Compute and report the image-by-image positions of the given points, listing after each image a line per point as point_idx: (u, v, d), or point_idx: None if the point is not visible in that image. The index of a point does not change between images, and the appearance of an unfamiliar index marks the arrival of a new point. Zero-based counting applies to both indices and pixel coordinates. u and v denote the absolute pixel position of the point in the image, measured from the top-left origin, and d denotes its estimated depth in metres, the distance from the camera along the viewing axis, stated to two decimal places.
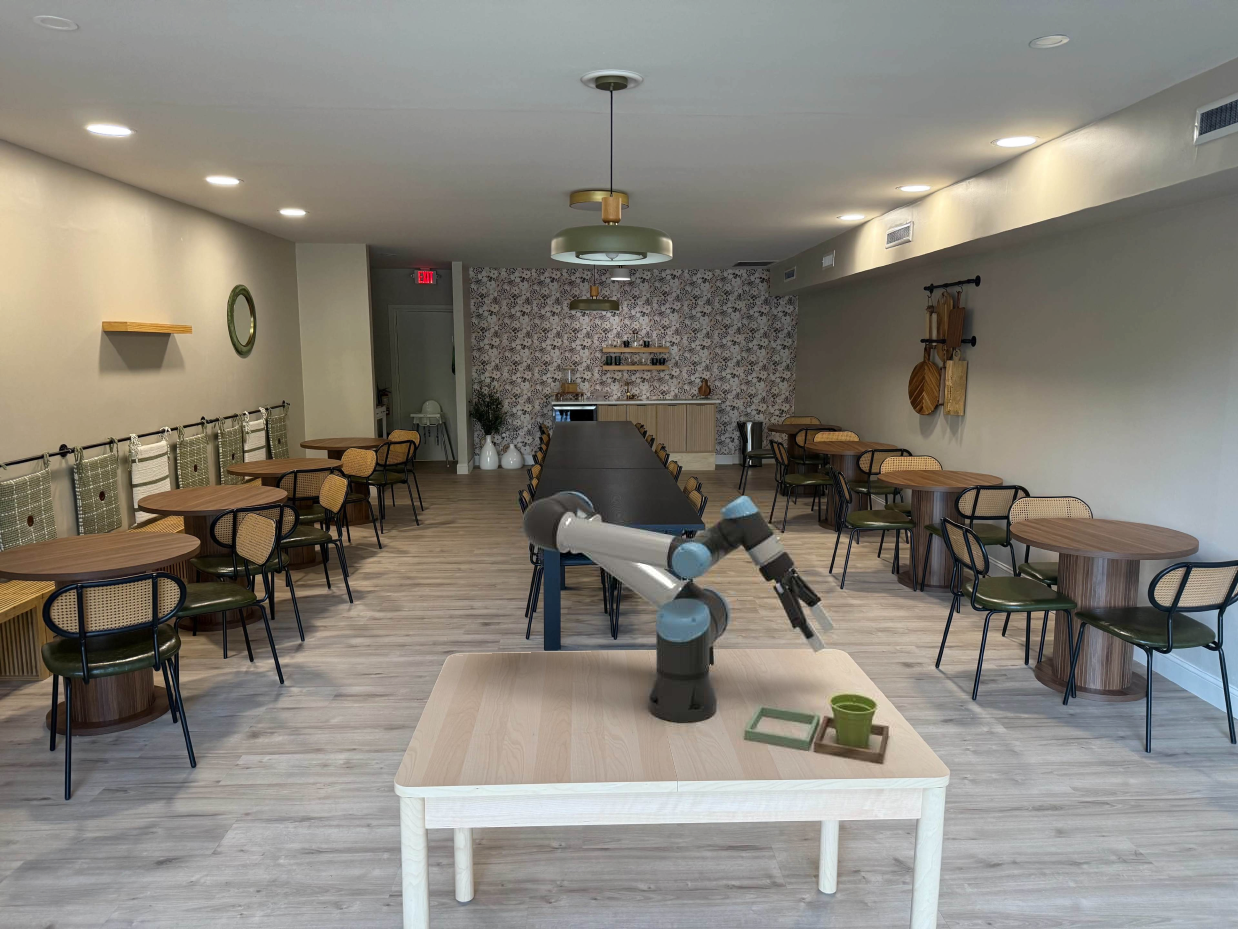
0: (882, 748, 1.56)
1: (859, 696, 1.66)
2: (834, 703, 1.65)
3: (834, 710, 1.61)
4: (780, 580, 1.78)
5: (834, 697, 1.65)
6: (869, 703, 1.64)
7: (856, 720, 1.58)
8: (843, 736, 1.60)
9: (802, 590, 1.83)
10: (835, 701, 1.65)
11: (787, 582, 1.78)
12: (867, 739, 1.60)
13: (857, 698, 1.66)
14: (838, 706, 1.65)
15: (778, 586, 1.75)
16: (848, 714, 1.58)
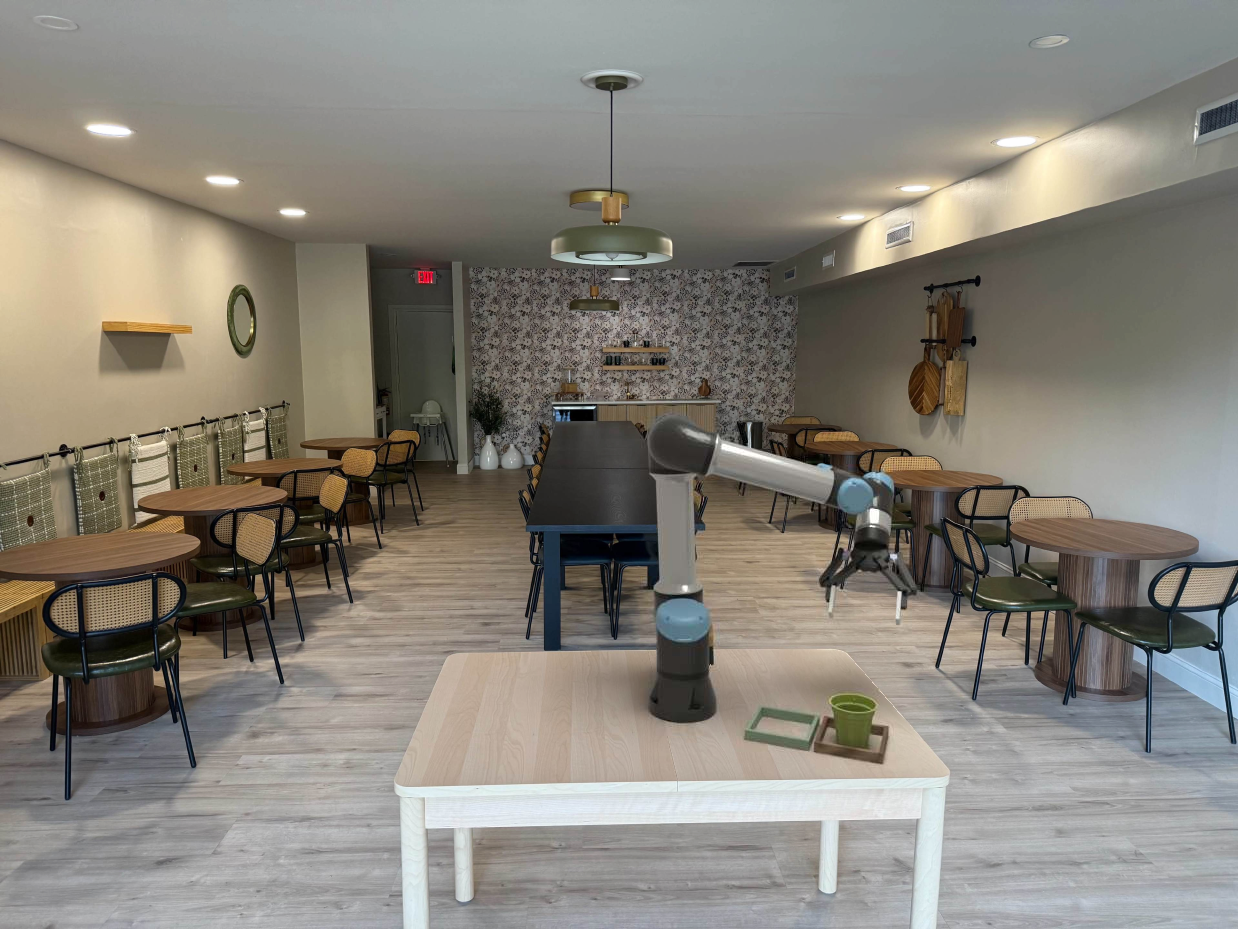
0: (882, 748, 1.56)
1: (859, 696, 1.66)
2: (834, 703, 1.65)
3: (834, 710, 1.61)
4: None
5: (834, 697, 1.65)
6: (869, 703, 1.64)
7: (856, 720, 1.58)
8: (843, 736, 1.60)
9: (852, 573, 1.78)
10: (835, 701, 1.65)
11: None
12: (867, 739, 1.60)
13: (857, 698, 1.66)
14: (838, 706, 1.65)
15: None
16: (848, 714, 1.58)
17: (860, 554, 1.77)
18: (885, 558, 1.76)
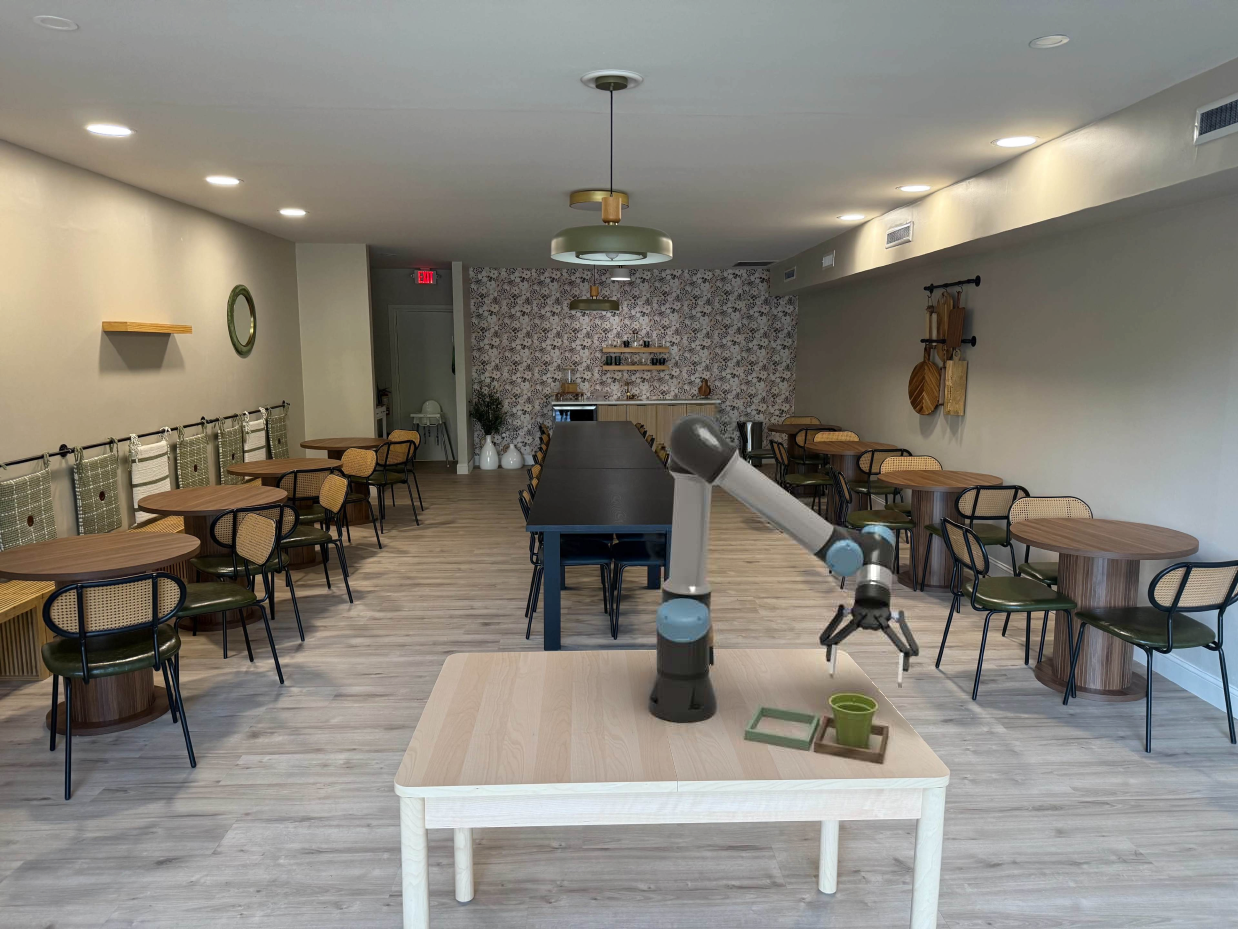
0: (882, 748, 1.56)
1: (859, 696, 1.66)
2: (834, 703, 1.65)
3: (834, 710, 1.61)
4: None
5: (834, 697, 1.65)
6: (869, 703, 1.64)
7: (856, 720, 1.58)
8: (843, 736, 1.60)
9: (853, 631, 1.75)
10: (835, 701, 1.65)
11: None
12: (867, 739, 1.60)
13: (857, 698, 1.66)
14: (838, 706, 1.65)
15: None
16: (848, 714, 1.58)
17: (861, 612, 1.74)
18: (886, 617, 1.73)
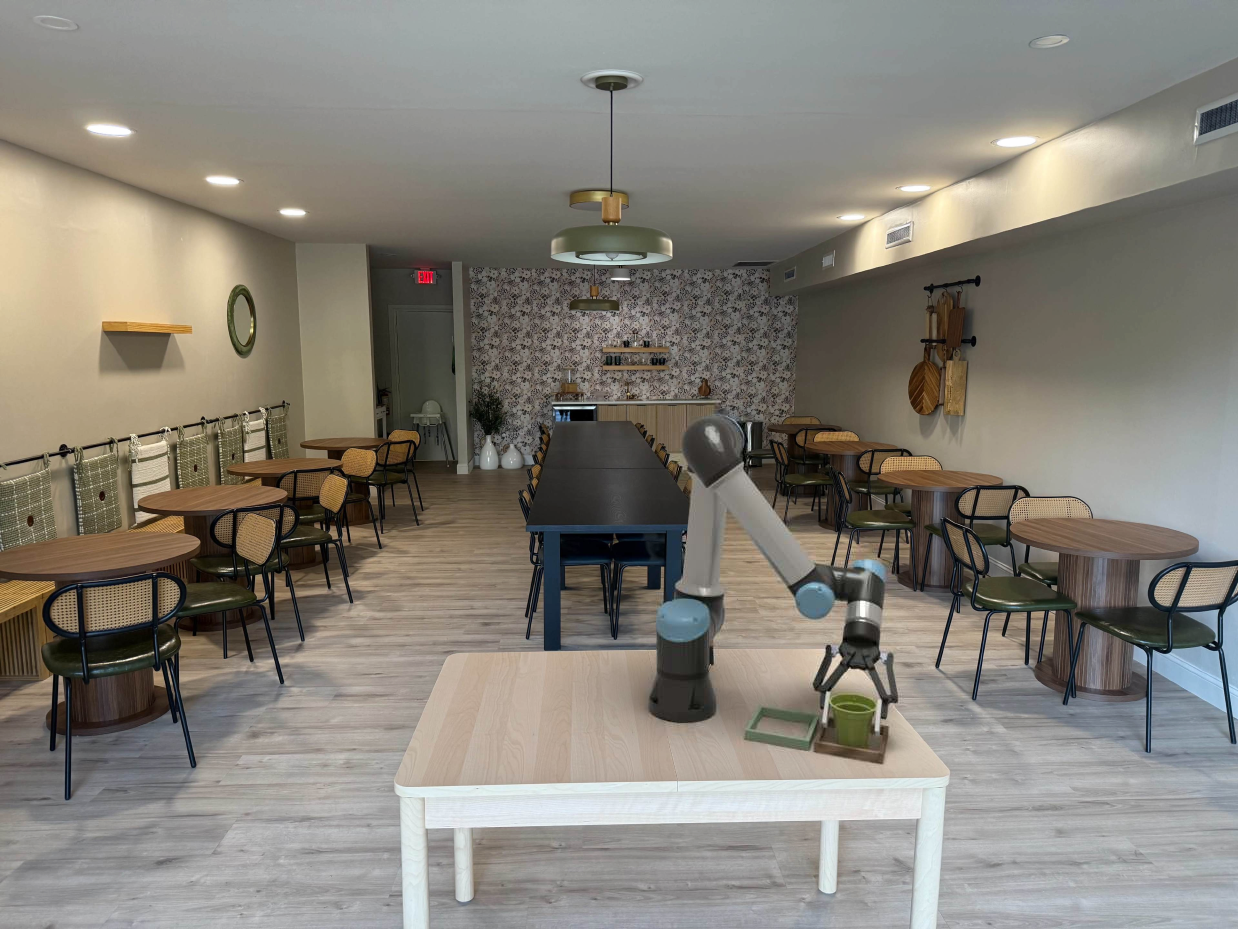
0: (882, 748, 1.56)
1: (859, 696, 1.66)
2: (834, 703, 1.65)
3: (834, 710, 1.61)
4: None
5: (834, 697, 1.65)
6: (869, 703, 1.63)
7: (856, 720, 1.58)
8: (843, 736, 1.60)
9: (844, 672, 1.68)
10: (835, 701, 1.65)
11: None
12: (867, 739, 1.60)
13: (857, 698, 1.66)
14: (838, 706, 1.65)
15: (893, 658, 1.66)
16: (848, 714, 1.58)
17: (849, 651, 1.67)
18: (874, 656, 1.66)
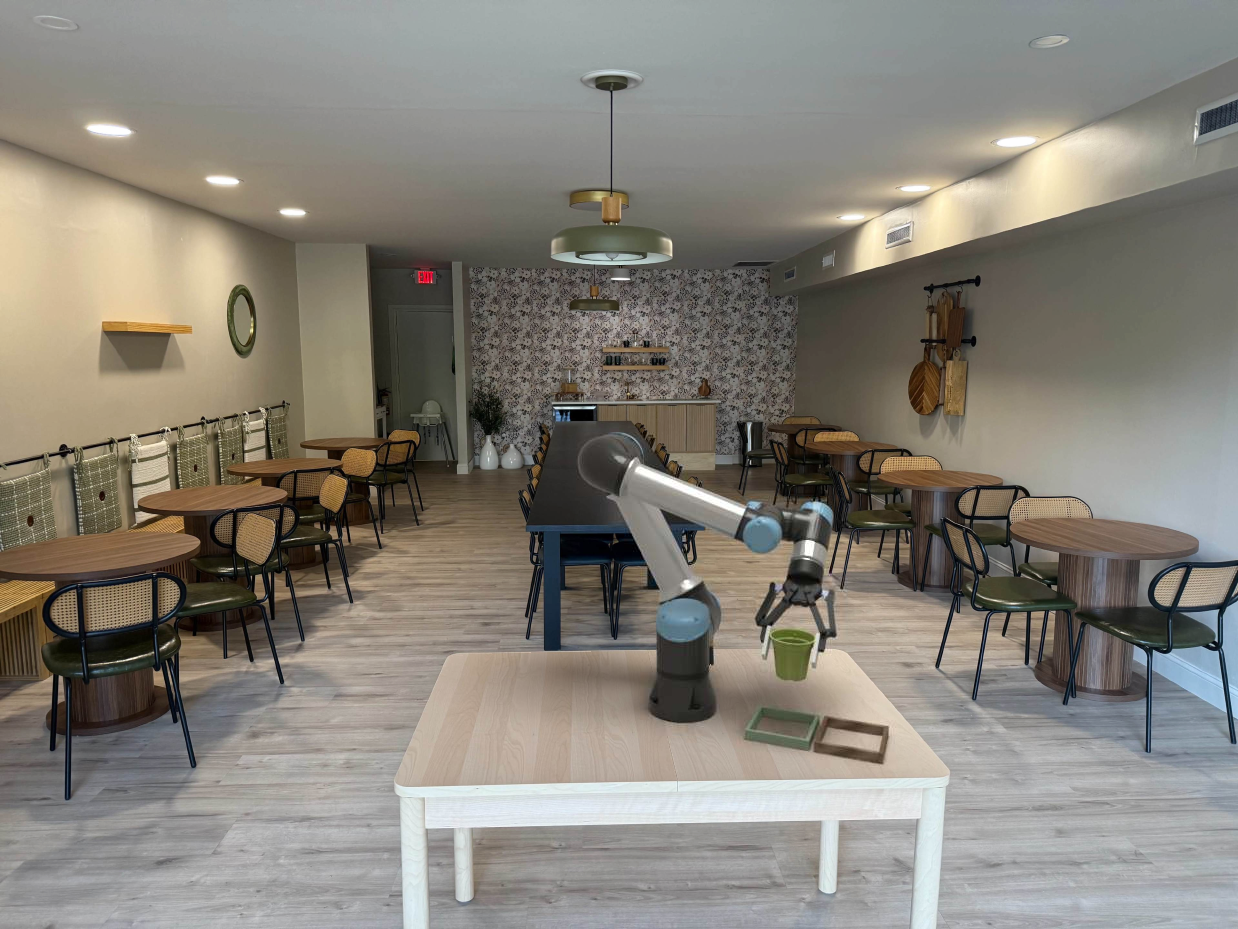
0: (882, 748, 1.56)
1: (800, 632, 1.69)
2: (775, 637, 1.68)
3: (773, 642, 1.64)
4: None
5: (775, 631, 1.68)
6: (809, 638, 1.67)
7: (793, 652, 1.62)
8: (781, 668, 1.64)
9: (786, 608, 1.71)
10: (776, 635, 1.69)
11: None
12: (805, 671, 1.64)
13: (798, 633, 1.69)
14: (779, 640, 1.69)
15: (834, 595, 1.69)
16: (786, 646, 1.61)
17: (792, 588, 1.71)
18: (816, 593, 1.69)
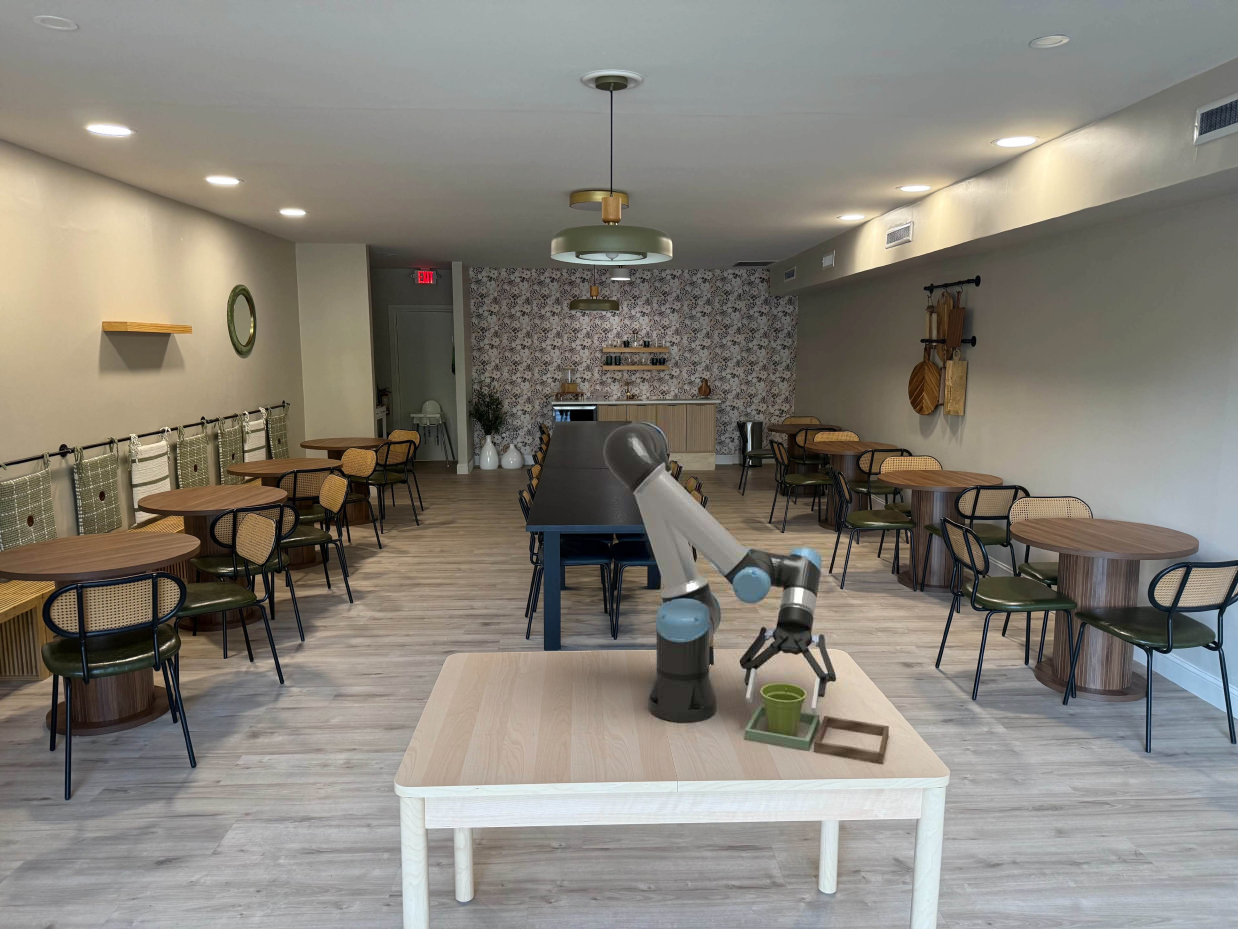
0: (882, 748, 1.56)
1: (791, 686, 1.71)
2: (766, 692, 1.70)
3: (764, 699, 1.66)
4: None
5: (766, 687, 1.71)
6: (800, 693, 1.69)
7: (784, 708, 1.64)
8: (773, 724, 1.66)
9: (774, 654, 1.74)
10: (767, 690, 1.71)
11: None
12: (796, 727, 1.66)
13: (789, 687, 1.71)
14: (770, 695, 1.71)
15: None
16: (777, 702, 1.64)
17: (782, 635, 1.73)
18: (807, 640, 1.71)
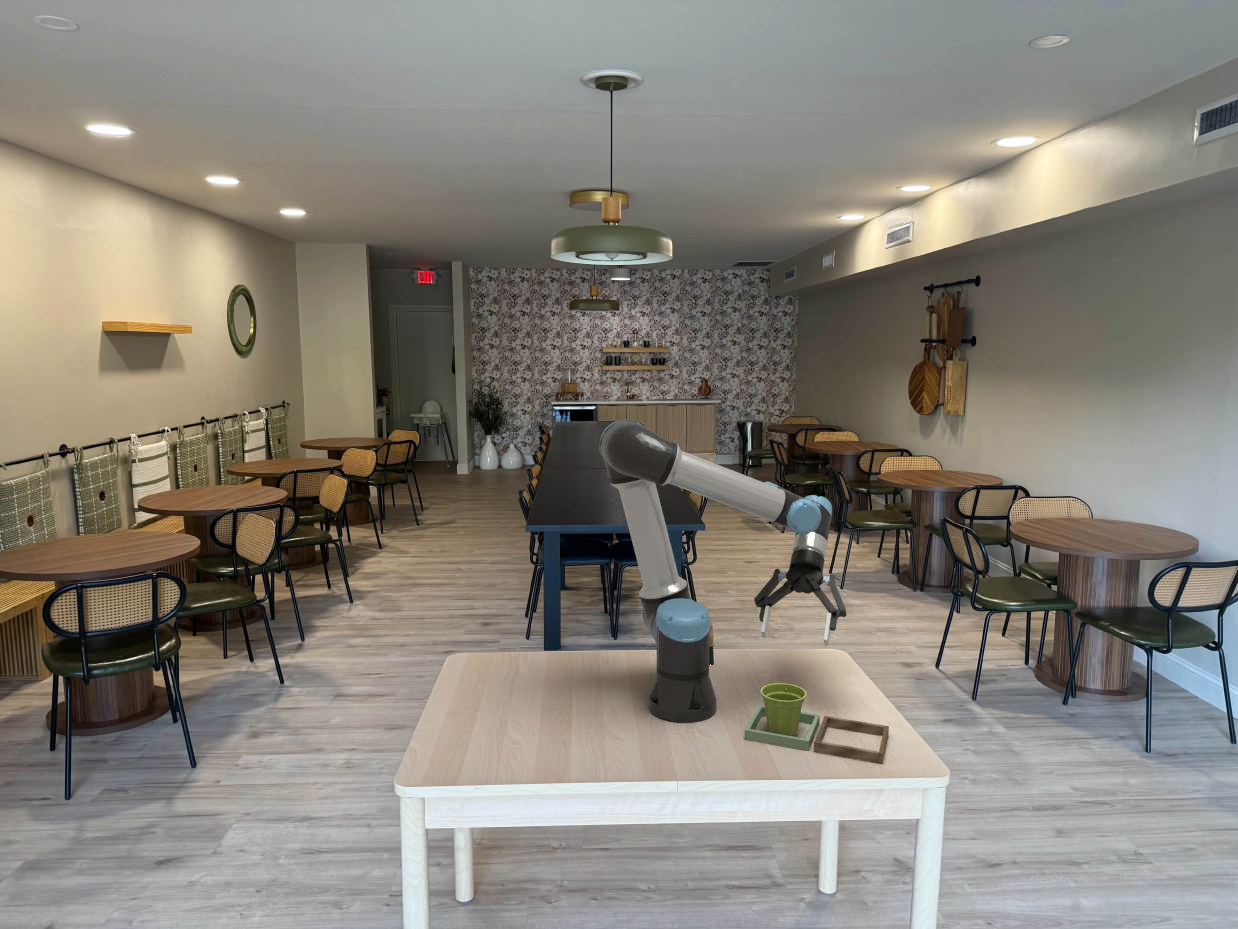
0: (882, 748, 1.56)
1: (791, 686, 1.71)
2: (766, 692, 1.70)
3: (764, 699, 1.66)
4: None
5: (766, 686, 1.71)
6: (800, 693, 1.69)
7: (784, 708, 1.64)
8: (773, 724, 1.66)
9: (787, 593, 1.84)
10: (767, 690, 1.71)
11: None
12: (796, 727, 1.66)
13: (789, 687, 1.71)
14: (770, 695, 1.71)
15: None
16: (777, 702, 1.64)
17: (794, 575, 1.83)
18: (818, 580, 1.82)
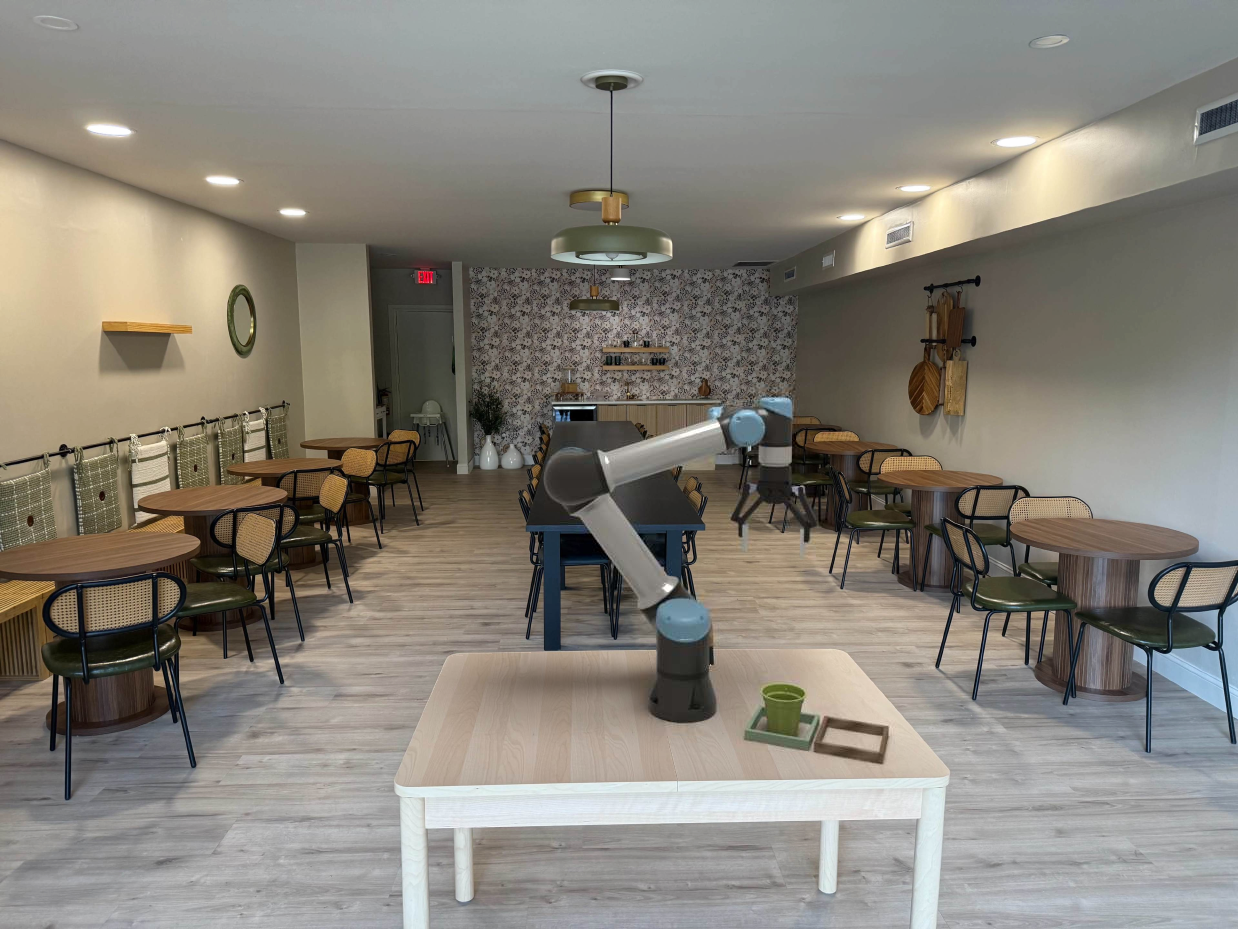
0: (882, 748, 1.56)
1: (791, 686, 1.71)
2: (766, 692, 1.70)
3: (764, 699, 1.66)
4: (790, 485, 1.87)
5: (766, 686, 1.71)
6: (800, 693, 1.69)
7: (784, 708, 1.64)
8: (773, 724, 1.66)
9: (760, 504, 1.91)
10: (767, 690, 1.71)
11: None
12: (796, 727, 1.66)
13: (789, 687, 1.71)
14: (770, 695, 1.71)
15: (804, 488, 1.86)
16: (777, 702, 1.64)
17: (764, 493, 1.87)
18: (787, 494, 1.86)
